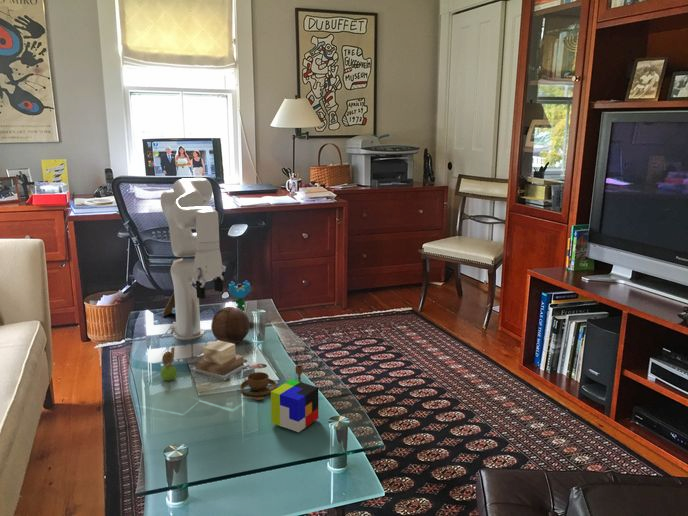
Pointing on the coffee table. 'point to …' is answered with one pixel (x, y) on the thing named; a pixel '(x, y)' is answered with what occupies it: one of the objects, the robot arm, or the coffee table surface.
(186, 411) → the coffee table surface
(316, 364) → the coffee table surface
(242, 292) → the toy flower
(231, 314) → the wooden sphere
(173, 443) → the coffee table surface
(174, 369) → the snail figurine
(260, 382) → the place setting
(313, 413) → the puzzle toy
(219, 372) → the plinth
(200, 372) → the blueprint board
